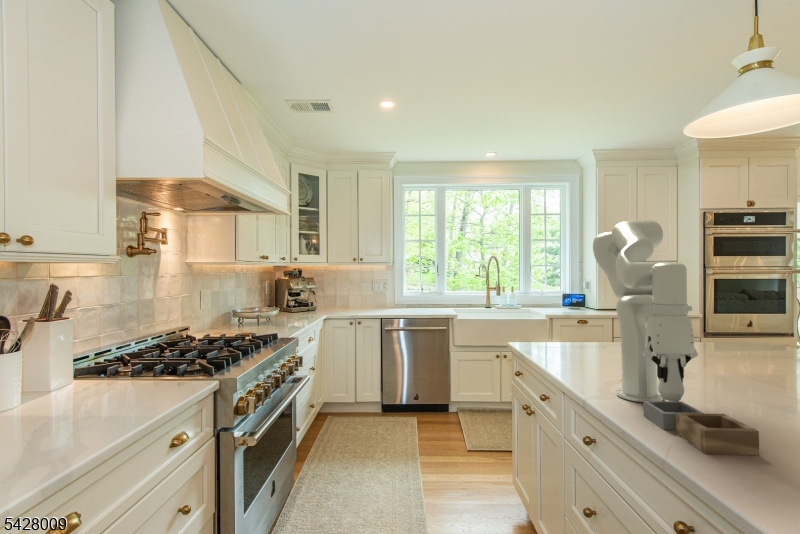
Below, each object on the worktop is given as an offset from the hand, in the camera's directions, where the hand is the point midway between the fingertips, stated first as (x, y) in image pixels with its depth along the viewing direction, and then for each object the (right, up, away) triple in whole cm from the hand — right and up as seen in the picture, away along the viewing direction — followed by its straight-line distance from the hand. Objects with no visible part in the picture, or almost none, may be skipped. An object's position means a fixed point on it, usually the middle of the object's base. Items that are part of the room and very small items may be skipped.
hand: (670, 380), depth 107 cm
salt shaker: (0, -5, 0) cm, 5 cm away
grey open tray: (0, -11, -1) cm, 11 cm away
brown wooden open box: (+1, -11, -14) cm, 18 cm away
